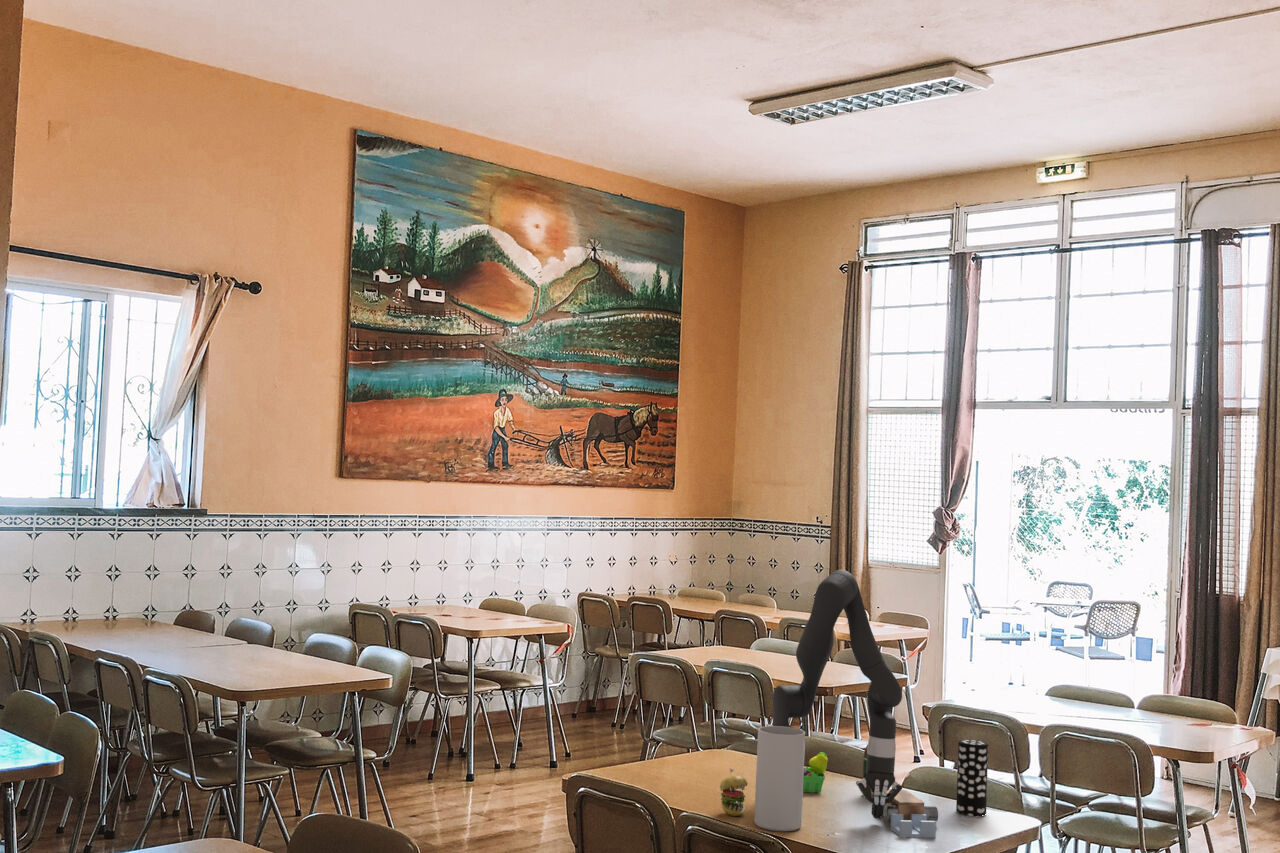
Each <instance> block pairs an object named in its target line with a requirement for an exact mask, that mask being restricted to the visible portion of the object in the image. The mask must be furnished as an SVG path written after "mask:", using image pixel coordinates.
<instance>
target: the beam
mask: <svg viewBox="0 0 1280 853" xmlns="http://www.w3.org/2000/svg"><path fill="white" fill-rule="evenodd" d="M890 790H891V789H890V788H889V790H888V791H887V794H888V793H889V791H890ZM887 794H886V795H887ZM886 805H890V806H898V814H903V820H911V814H924V806H925V802H924V801H923V800H922V799H919V798H918V797H917V796H916V795H915V794H912V793H911V792H909V791H908V790H907V789H901V791H900V792H899V793H898V794H897V795H896V797H895V798H894V799H893V800H892V801H891V803H886V804H884V807H885V806H886ZM884 807H883V816H882V817H884Z"/></svg>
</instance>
